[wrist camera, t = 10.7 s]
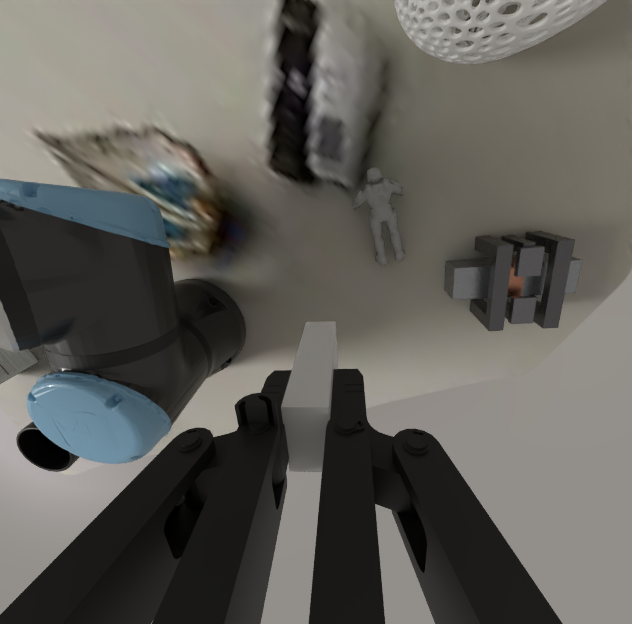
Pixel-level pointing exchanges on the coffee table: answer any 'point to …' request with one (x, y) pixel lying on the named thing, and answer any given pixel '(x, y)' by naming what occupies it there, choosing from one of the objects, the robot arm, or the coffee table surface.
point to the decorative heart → (486, 26)
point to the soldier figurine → (381, 212)
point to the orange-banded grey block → (475, 275)
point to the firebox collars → (526, 265)
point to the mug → (43, 450)
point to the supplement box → (14, 363)
